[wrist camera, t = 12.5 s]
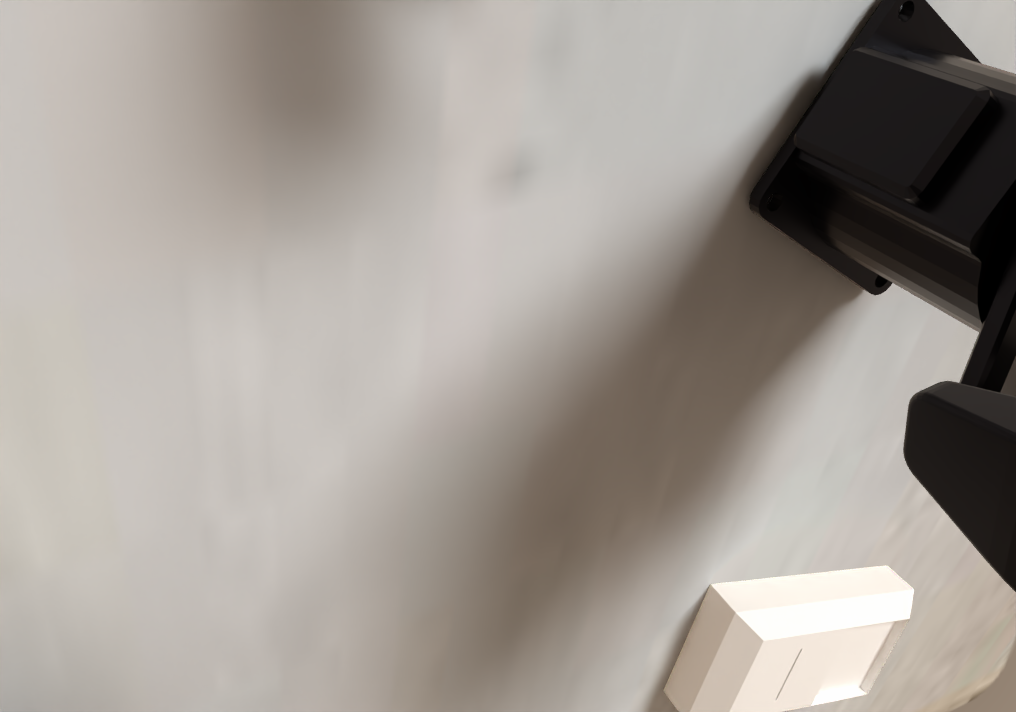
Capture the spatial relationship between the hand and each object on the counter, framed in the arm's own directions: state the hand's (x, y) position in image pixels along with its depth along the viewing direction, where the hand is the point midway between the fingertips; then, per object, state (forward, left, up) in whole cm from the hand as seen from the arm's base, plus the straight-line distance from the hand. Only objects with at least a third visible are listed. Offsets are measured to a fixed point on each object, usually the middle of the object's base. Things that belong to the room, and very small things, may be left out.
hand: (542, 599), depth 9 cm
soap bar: (-26, +7, -14) cm, 30 cm away
